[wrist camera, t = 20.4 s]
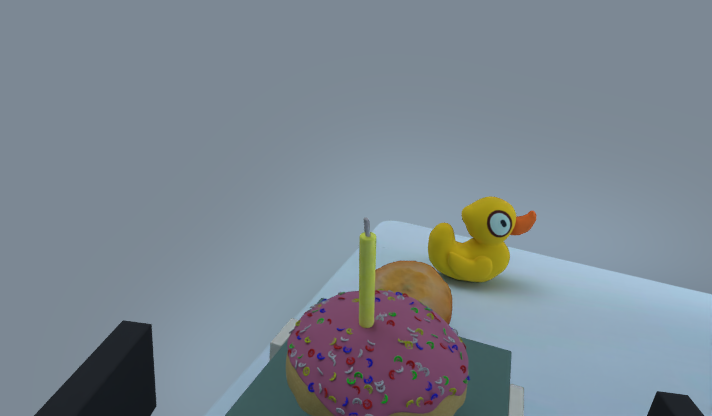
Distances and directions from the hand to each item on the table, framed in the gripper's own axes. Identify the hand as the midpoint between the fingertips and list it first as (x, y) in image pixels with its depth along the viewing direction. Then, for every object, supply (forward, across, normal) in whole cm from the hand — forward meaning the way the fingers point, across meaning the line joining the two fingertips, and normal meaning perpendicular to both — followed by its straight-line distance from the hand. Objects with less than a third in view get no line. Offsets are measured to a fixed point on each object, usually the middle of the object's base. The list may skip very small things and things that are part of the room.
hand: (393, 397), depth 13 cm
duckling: (+40, +11, -17) cm, 44 cm away
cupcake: (+8, 0, -10) cm, 13 cm away
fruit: (+26, +3, -17) cm, 31 cm away
